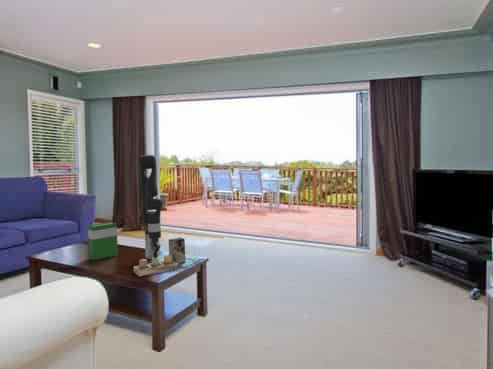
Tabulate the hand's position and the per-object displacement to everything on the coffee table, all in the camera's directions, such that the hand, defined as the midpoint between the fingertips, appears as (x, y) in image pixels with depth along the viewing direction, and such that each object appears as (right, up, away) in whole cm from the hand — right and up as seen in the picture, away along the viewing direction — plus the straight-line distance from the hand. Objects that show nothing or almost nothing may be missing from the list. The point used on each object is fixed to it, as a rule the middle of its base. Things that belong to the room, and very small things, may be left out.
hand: (155, 257), depth 233 cm
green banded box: (-45, -7, +34) cm, 57 cm away
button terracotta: (-6, -6, -4) cm, 10 cm away
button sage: (0, -5, +1) cm, 5 cm away
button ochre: (+7, -5, +5) cm, 10 cm away
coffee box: (+11, -7, +17) cm, 22 cm away
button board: (0, -8, +1) cm, 8 cm away
